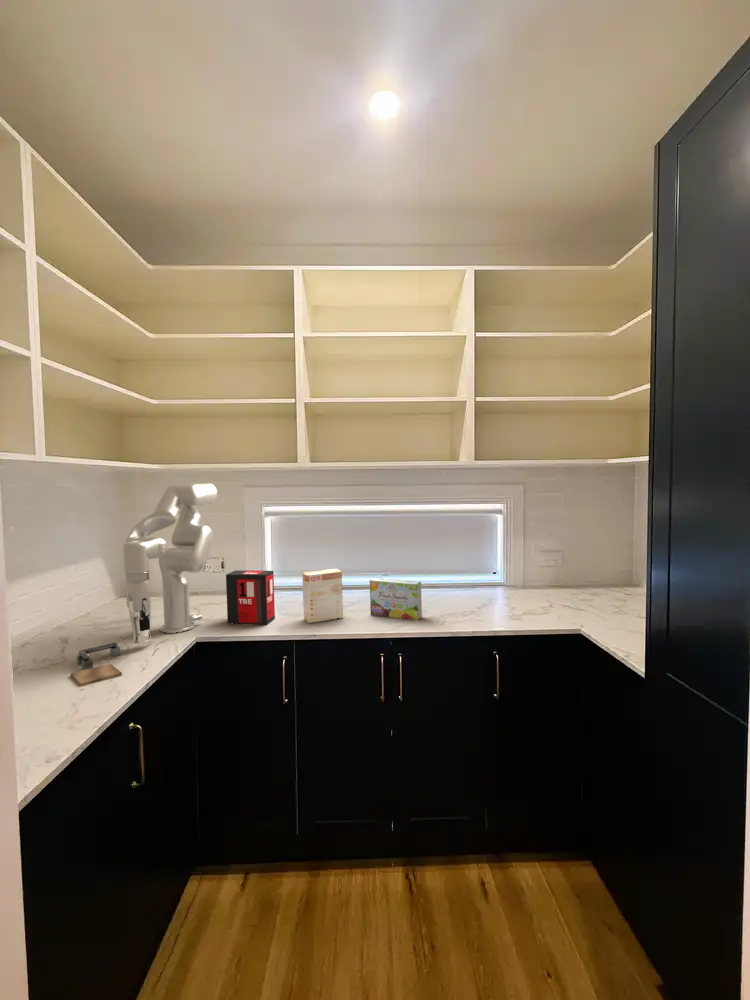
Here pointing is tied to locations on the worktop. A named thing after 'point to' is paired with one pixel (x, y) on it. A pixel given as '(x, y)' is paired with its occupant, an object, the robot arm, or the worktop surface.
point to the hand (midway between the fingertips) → (141, 627)
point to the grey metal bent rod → (85, 657)
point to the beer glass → (134, 618)
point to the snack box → (396, 598)
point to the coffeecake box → (322, 595)
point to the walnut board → (95, 674)
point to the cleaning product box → (250, 597)
